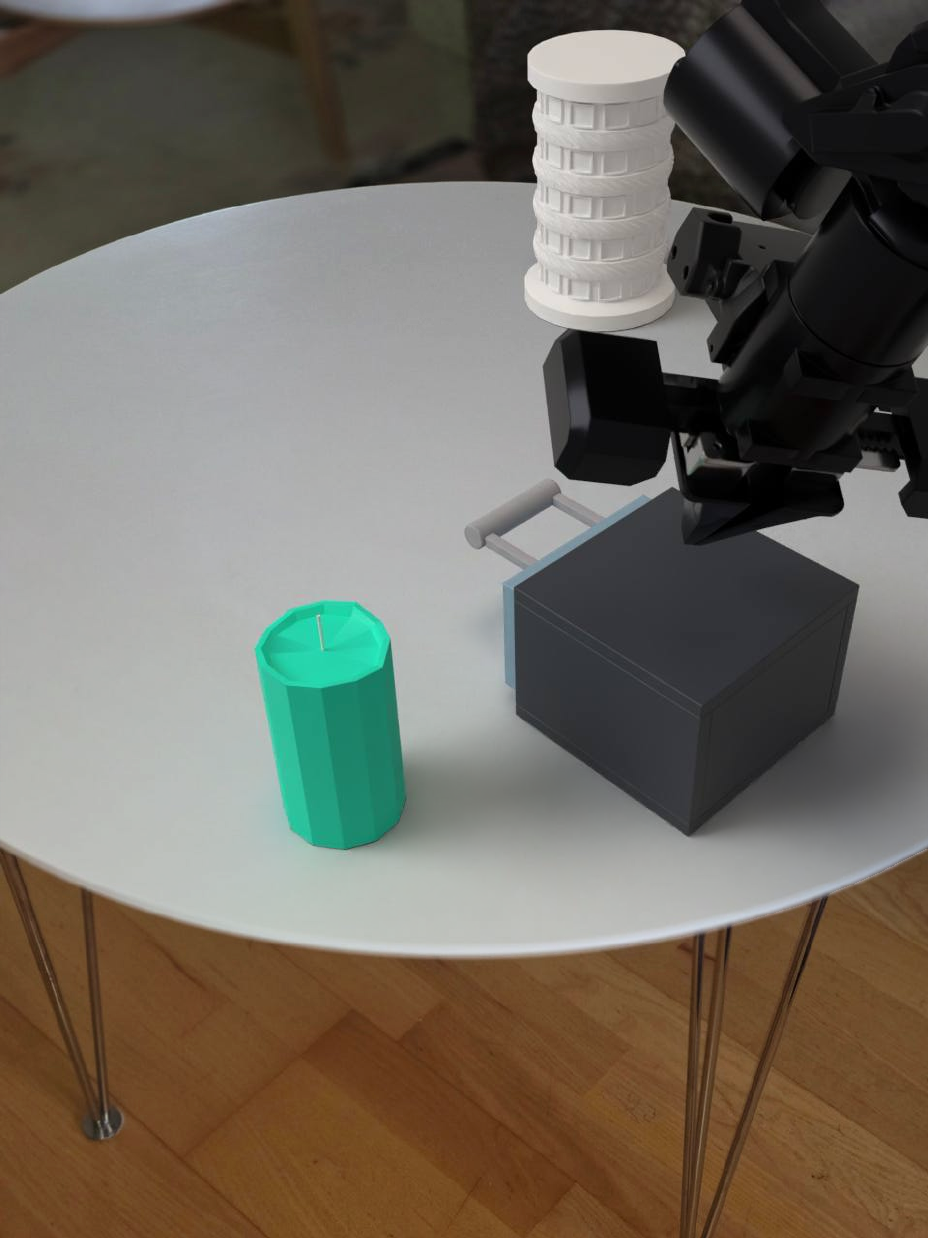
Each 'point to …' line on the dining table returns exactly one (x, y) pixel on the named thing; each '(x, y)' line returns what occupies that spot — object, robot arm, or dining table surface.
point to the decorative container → (601, 179)
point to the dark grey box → (680, 657)
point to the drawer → (505, 520)
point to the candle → (333, 722)
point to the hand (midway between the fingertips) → (689, 536)
